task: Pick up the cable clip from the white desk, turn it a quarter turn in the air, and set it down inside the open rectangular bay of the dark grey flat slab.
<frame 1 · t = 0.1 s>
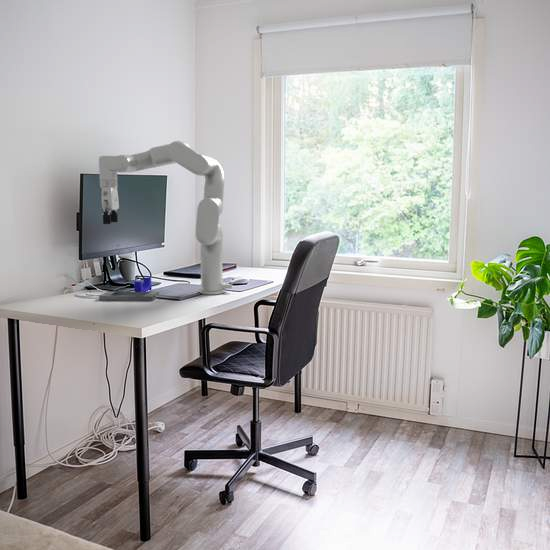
hand: (110, 223, 286), 31 cm above the table, tool pointing down, fingers open, 9 cm apart
dark grey flat slab: (129, 298, 275), on the table
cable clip: (141, 293, 288), on the table
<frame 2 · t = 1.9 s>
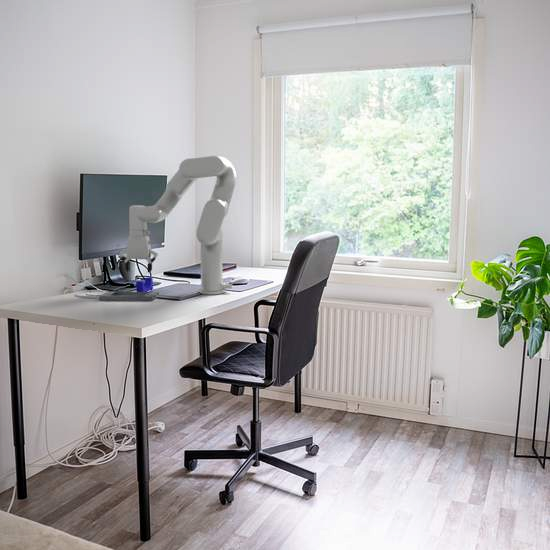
hand: (138, 271, 287), 9 cm above the table, tool pointing down, fingers open, 9 cm apart
nothing on the table moved.
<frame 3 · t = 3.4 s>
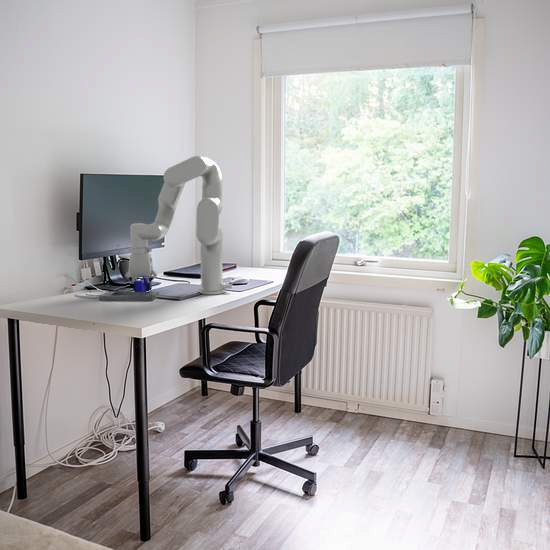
hand: (141, 291, 288), 1 cm above the table, tool pointing down, fingers closed on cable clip, 4 cm apart
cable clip: (142, 292, 289), on the table, touching gripper
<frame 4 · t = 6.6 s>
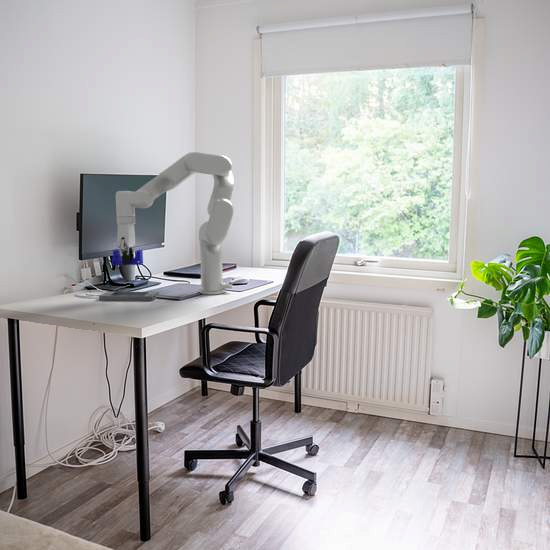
hand: (128, 263, 272), 15 cm above the table, tool pointing down, fingers closed on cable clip, 4 cm apart
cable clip: (127, 264, 273), point 14 cm above the table, touching gripper
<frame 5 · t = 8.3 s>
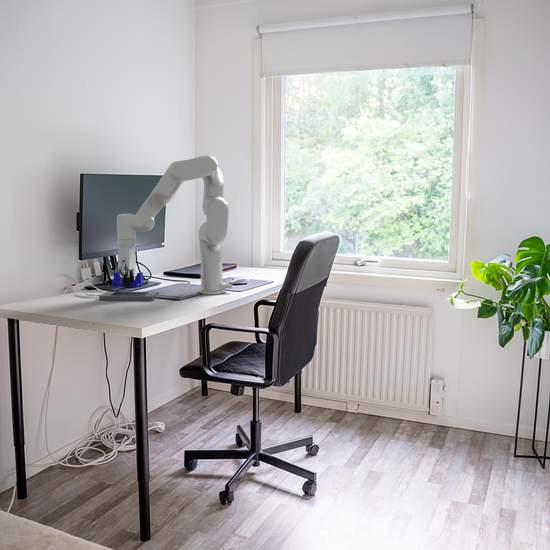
hand: (128, 285, 274), 6 cm above the table, tool pointing down, fingers closed on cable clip, 4 cm apart
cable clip: (128, 287, 274), point 5 cm above the table, touching gripper
when the fingers open (2 cm above the table, at t = 9.7 s): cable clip drops 2 cm, resting in dark grey flat slab.
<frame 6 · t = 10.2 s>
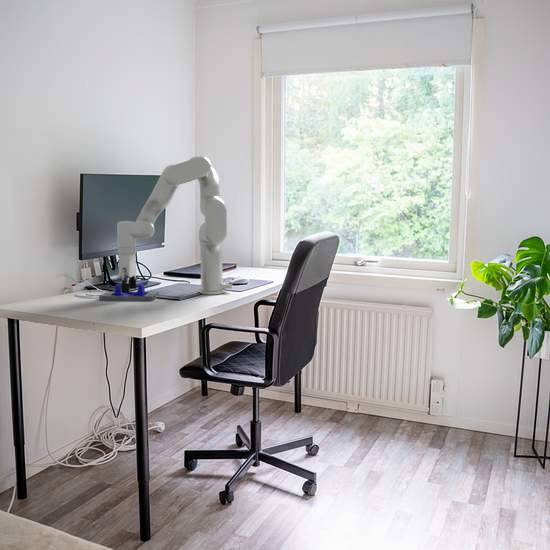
hand: (129, 290, 274), 3 cm above the table, tool pointing down, fingers open, 9 cm apart
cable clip: (129, 299, 275), resting in dark grey flat slab
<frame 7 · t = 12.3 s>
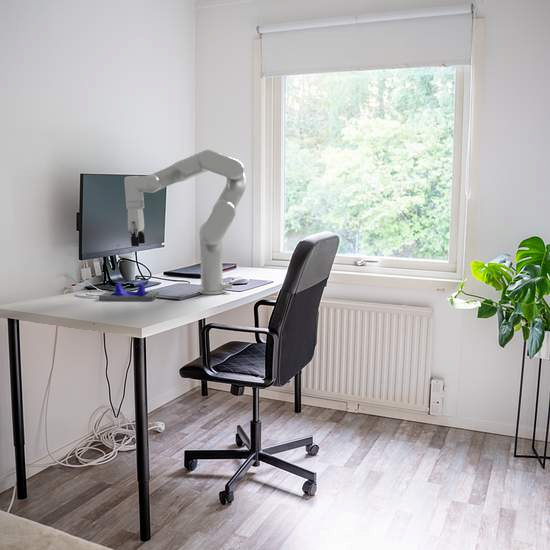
hand: (138, 244, 278), 22 cm above the table, tool pointing down, fingers open, 9 cm apart
nothing on the table moved.
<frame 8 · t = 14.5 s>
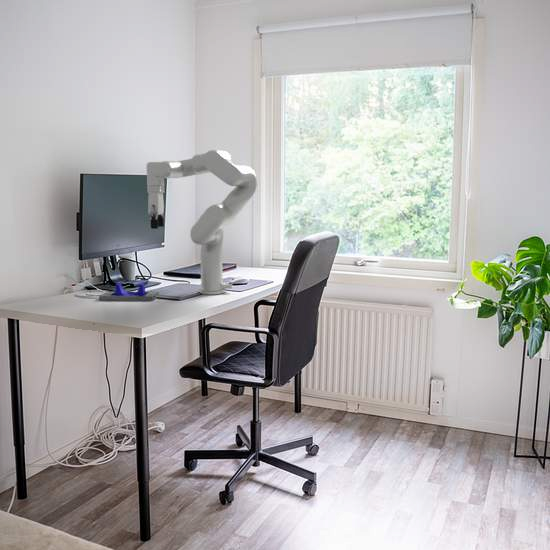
hand: (157, 227, 292), 28 cm above the table, tool pointing down, fingers open, 9 cm apart
at the end: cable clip inside the target area on the dark grey flat slab (1.7 cm from its centre), point 0.0 cm above the dark grey flat slab's base; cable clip tilted 0°; the gripper is holding nothing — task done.
